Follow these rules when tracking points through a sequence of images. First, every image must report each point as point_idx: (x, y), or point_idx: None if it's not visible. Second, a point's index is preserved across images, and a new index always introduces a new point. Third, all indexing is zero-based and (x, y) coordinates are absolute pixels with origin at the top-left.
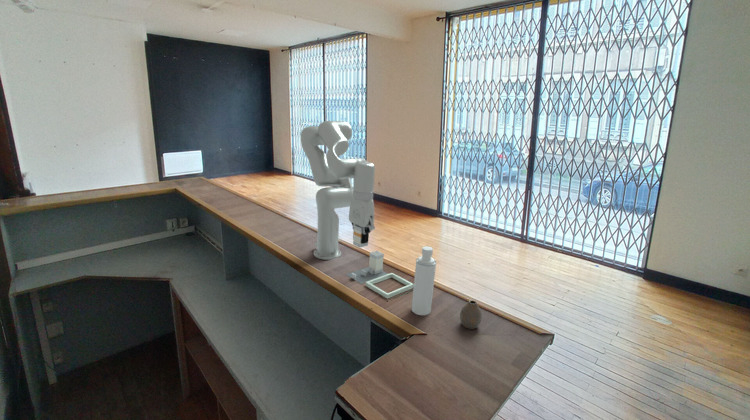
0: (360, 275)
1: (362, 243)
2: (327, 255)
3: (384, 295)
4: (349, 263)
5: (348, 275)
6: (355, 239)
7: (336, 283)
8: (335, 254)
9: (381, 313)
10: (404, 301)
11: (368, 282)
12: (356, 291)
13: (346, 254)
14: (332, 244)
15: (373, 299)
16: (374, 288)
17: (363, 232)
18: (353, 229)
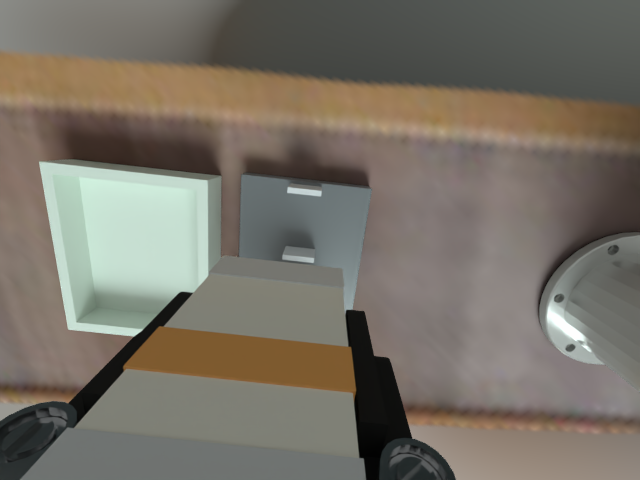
0: (309, 237)
1: (182, 297)
2: (594, 273)
3: (70, 162)
4: (457, 306)
5: (350, 192)
6: (299, 301)
7: (356, 107)
8: (566, 312)
9: (3, 61)
10: (43, 222)
11: (195, 187)
12: (229, 126)
13: (531, 360)
14: (634, 330)
15: (125, 131)
16: (140, 171)
17: (38, 441)
18: (409, 442)
